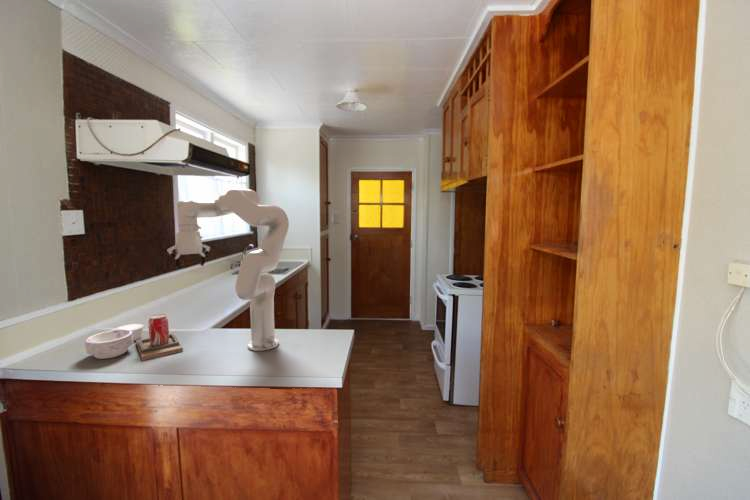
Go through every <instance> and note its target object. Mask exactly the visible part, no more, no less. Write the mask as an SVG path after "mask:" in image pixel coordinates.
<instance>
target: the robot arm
mask: <svg viewBox="0 0 750 500" xmlns="http://www.w3.org/2000/svg"><path fill="white" fill-rule="evenodd" d="M260 202H261V197H260V195H259V194H258V192H257V191H255V190H254V189H249V188H240V187H239V188H236V187H234V188H230V189H229V190H228V191H226V193H222V194H221V195H219V197H218V199H214V200H208V199H207V200H206V199H205V200H204V199H194V200H193V199H191V200H179V201H177V203H176V209H177V212H176V213H177V224H178V225H177V226H178V231H176V234H175V245H173V246H171V247H169V248H167V253H168V254H169V256H171V257H172V258H174V263H175V267H176V268H177V269H180V268H181V260H180V257H181V255H192V254H194V255H195V254H196V255H197V254H199V255H200V256H199V262H200V266H202V267H203V266H204V265H205V263H206V260H205V258H206V255H208V254H209V252H210V251H211V246H209V245H207V244H204V243H203V242H202V236H201V233H200V231H199V230H201V229H202V225H198V218H215V217H221V216H226V215H230V214H235V216H238V217H239V218H240V219H241V220H242V221H243V222H244V223H246V224H247V225H249V226H250V227H254V228H260V227H261V228H262V227H268V228H267V230H266V231H265V233H264V235H263V237H262V240H261V243H260V247H259V248H258V249H257V250H253V251H249V252H248V253H246V254H245V255H244V256H243V258H242V260H241V263H240V266H239V269H238V274H237V278H236V281H235V287H234V288H235V293H236V295H237V297H238V299H240V300H242V301H250V303H249V308H250V309H249V311H250V313H249V314H250V336H251V337H250V338H251V340H250V341H249V342H248V344H247V348H248V349H249V350H251V351H253V352H254V351H255V352H263V351H269V350H272V349H274V348H276V347H277V346H279V344H280V343H279V341H280V340H279V339H278V338H276V336H275V335H276V333H275V299H274V298H275V290H276V280H275V278H274V276H273V274H271V273H270V272H272V271H274V270H276V269H277V267H278V265H279V261H280V257H281V255H282V251H283V247H284V243H285V241H286V237H287V234H288V231H289V227H290V224H289V223H290V222H289V217H288V215H287V213H286V211H285V210H284V209H283V208H281V207H280V206H277V205H274V204H273V205H271V204H260ZM203 248H204V249H205V251H203ZM174 250H175V253H174V252H173V251H174Z"/></svg>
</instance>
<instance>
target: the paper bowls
mask: <svg viewBox="0 0 750 500" xmlns="http://www.w3.org/2000/svg"><path fill="white" fill-rule="evenodd" d="M133 344H134V341H133V332H132V331H131V330H126V329H120V330H114V329H112V330H107V331H103V332H99V333H96V334H93V335H91V336H88V337H87V338H86V339H85V341H84V345H85V351H86V354H88V355H92V356H93V357H94V358H96V359H100V360H101V359H102V360H106V359H107V360H108V359H112V358H116V357H119V356H122V355H124V354H125V353H126V352H127V351H128V349H129V348H130V347H131V346H132V345H133Z"/></svg>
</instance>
